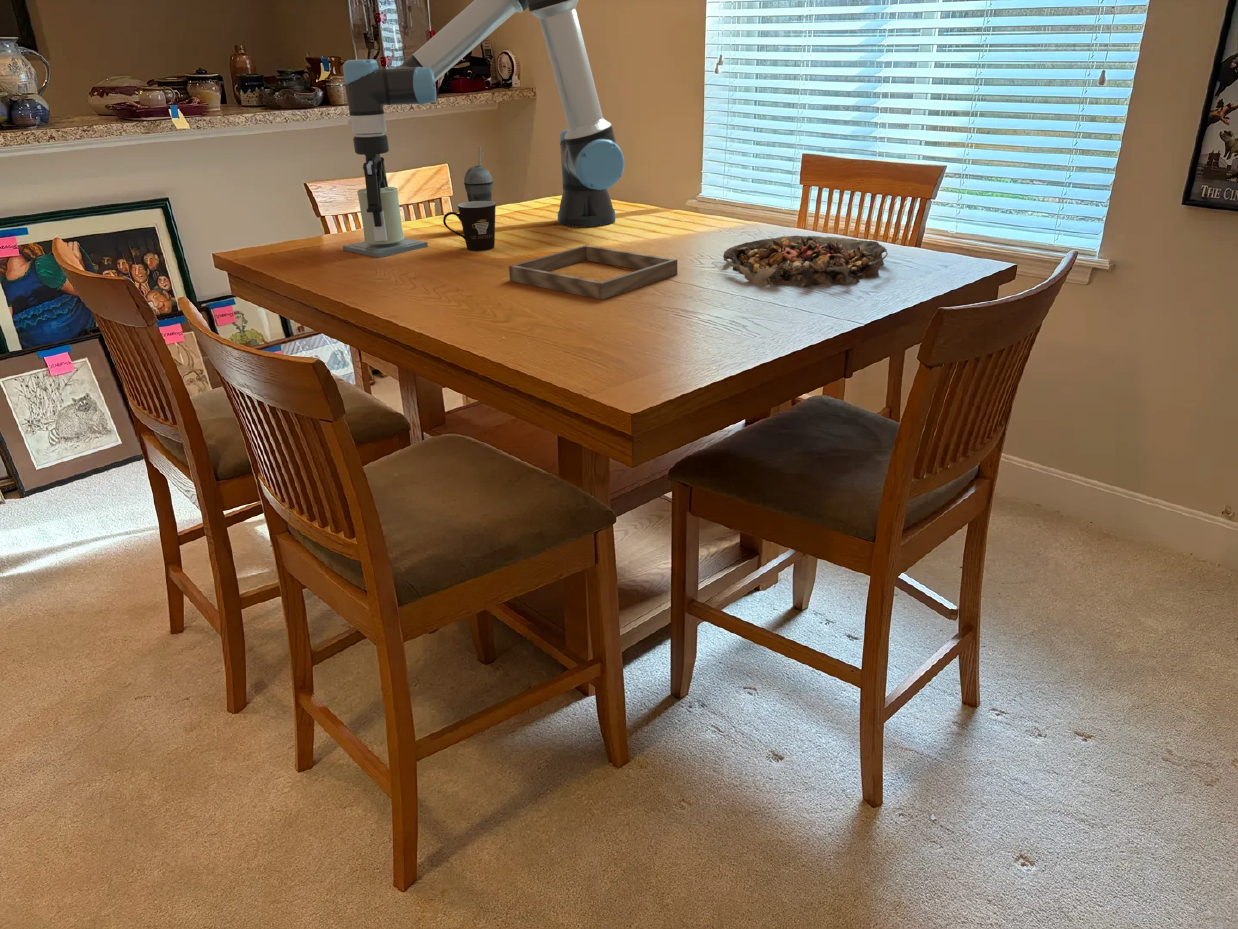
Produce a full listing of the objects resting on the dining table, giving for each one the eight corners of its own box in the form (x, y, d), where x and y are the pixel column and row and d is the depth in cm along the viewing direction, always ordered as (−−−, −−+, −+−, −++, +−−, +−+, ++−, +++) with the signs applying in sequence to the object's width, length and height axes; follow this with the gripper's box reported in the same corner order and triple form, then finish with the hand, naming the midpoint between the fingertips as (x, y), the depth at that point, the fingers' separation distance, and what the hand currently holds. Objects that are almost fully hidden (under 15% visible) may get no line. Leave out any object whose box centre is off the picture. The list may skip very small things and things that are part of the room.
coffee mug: (502, 243, 214) (499, 200, 209) (494, 251, 206) (490, 207, 202) (455, 244, 215) (450, 201, 211) (445, 252, 207) (440, 207, 203)
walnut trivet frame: (677, 274, 183) (677, 259, 181) (602, 299, 167) (602, 283, 166) (586, 258, 197) (585, 244, 196) (509, 280, 182) (508, 265, 180)
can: (399, 243, 208) (391, 190, 203) (359, 244, 208) (351, 191, 203) (408, 235, 216) (401, 183, 211) (370, 236, 216) (362, 185, 211)
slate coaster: (427, 246, 214) (427, 241, 213) (378, 257, 204) (378, 252, 204) (391, 239, 222) (391, 235, 221) (343, 250, 212) (342, 245, 212)
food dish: (800, 306, 164) (801, 263, 161) (690, 274, 190) (688, 237, 186) (928, 269, 181) (931, 230, 178) (811, 245, 206) (812, 210, 203)
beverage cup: (465, 228, 232) (456, 146, 223) (492, 225, 235) (484, 144, 226) (473, 233, 226) (464, 149, 217) (500, 230, 229) (493, 147, 220)
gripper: (361, 130, 211) (375, 227, 221) (343, 140, 192) (359, 246, 202) (393, 129, 212) (406, 226, 222) (379, 139, 192) (393, 245, 202)
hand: (384, 236), depth 212 cm, fingers closed on can, 9 cm apart
